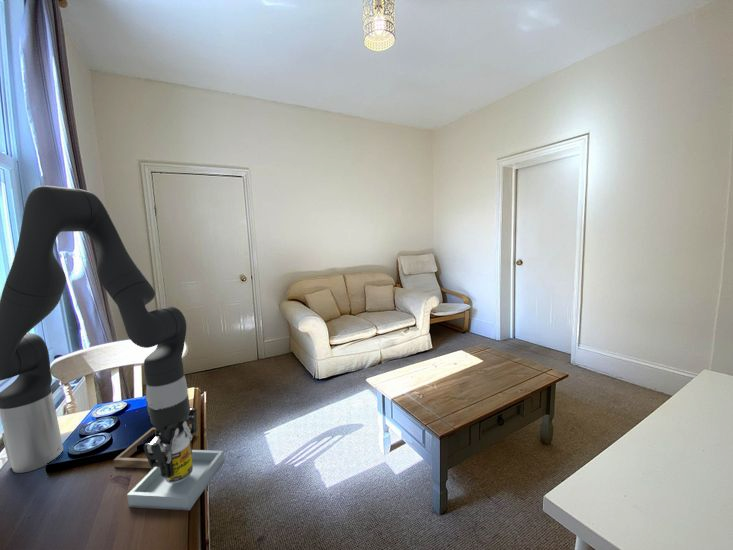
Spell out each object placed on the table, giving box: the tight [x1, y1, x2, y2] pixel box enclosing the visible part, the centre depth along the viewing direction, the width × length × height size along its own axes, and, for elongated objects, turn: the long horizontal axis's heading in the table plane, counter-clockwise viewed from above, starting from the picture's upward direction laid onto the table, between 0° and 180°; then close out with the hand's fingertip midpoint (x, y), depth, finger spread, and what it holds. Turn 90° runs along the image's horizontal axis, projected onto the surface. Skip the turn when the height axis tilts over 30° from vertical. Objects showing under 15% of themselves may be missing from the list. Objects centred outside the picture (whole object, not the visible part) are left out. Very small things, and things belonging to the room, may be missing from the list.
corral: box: [113, 426, 195, 470], centre depth 83 cm, size 13×13×2 cm
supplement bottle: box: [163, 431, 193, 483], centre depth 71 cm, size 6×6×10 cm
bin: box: [126, 449, 225, 511], centre depth 72 cm, size 14×14×3 cm
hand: (178, 465), depth 71 cm, fingers closed on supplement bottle, 5 cm apart
